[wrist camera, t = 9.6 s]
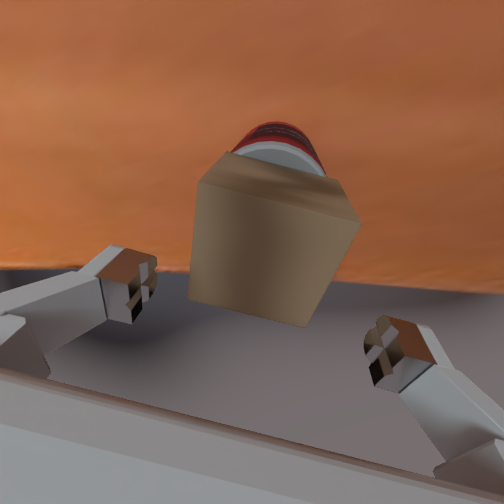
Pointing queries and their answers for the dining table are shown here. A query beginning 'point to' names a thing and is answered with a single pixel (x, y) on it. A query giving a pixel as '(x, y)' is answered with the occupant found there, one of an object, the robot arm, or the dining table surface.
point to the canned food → (281, 147)
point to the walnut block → (267, 238)
